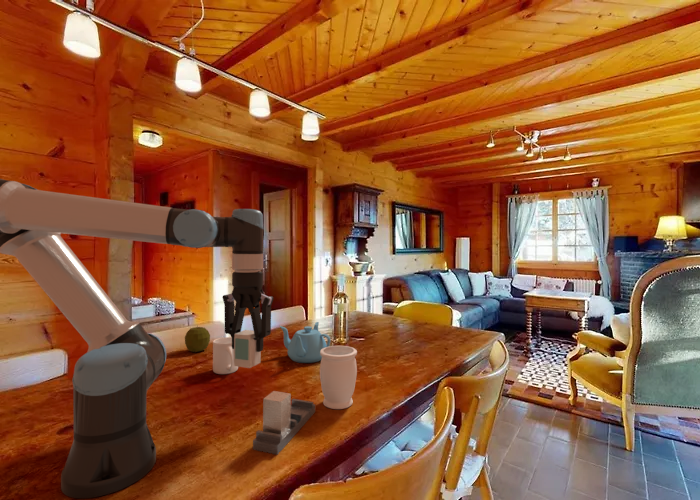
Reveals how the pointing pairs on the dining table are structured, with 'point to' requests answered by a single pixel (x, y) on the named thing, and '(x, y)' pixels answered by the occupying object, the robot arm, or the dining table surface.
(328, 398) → the jar
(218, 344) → the mug
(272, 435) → the rail
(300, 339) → the teapot
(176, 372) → the dining table surface
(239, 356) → the block
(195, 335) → the olive green ball
